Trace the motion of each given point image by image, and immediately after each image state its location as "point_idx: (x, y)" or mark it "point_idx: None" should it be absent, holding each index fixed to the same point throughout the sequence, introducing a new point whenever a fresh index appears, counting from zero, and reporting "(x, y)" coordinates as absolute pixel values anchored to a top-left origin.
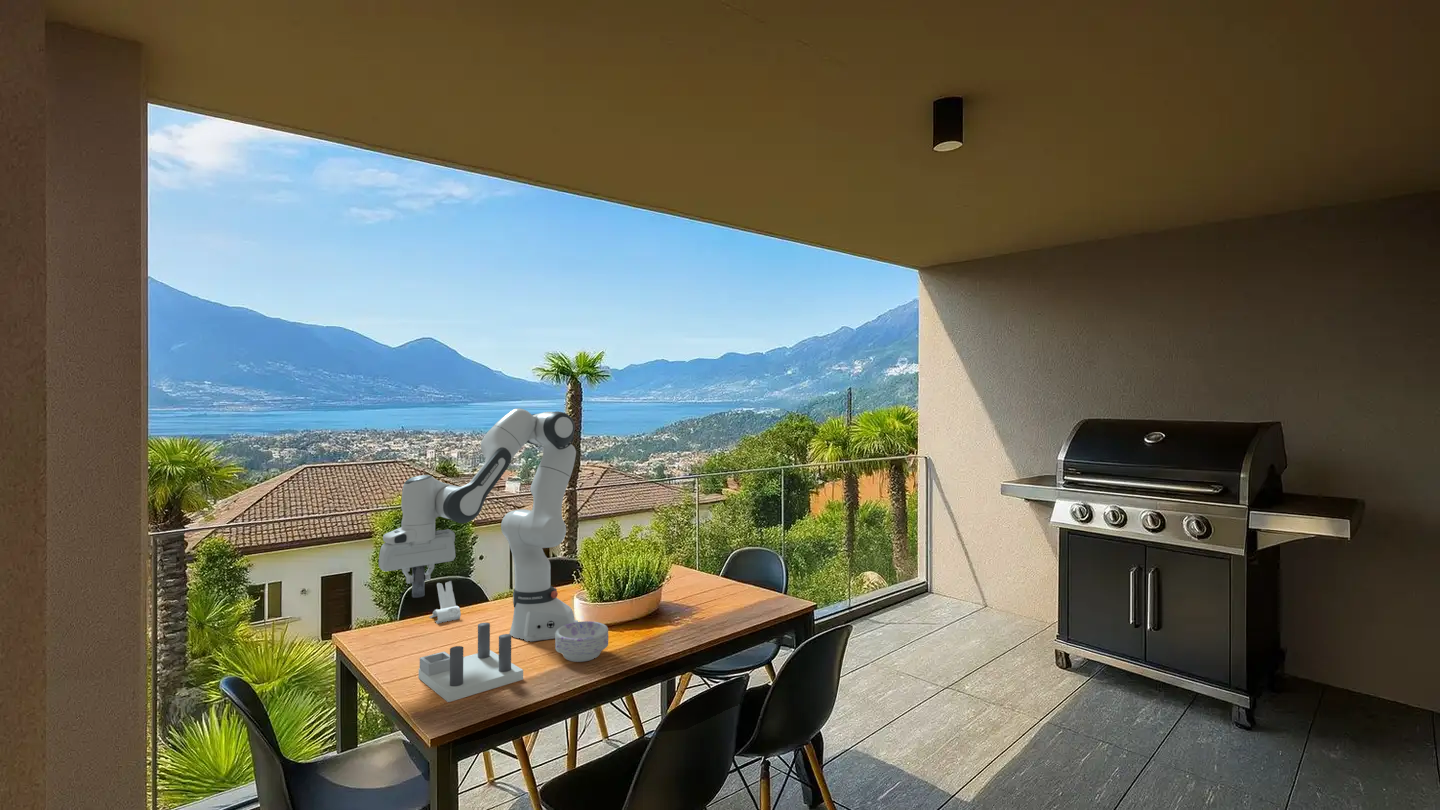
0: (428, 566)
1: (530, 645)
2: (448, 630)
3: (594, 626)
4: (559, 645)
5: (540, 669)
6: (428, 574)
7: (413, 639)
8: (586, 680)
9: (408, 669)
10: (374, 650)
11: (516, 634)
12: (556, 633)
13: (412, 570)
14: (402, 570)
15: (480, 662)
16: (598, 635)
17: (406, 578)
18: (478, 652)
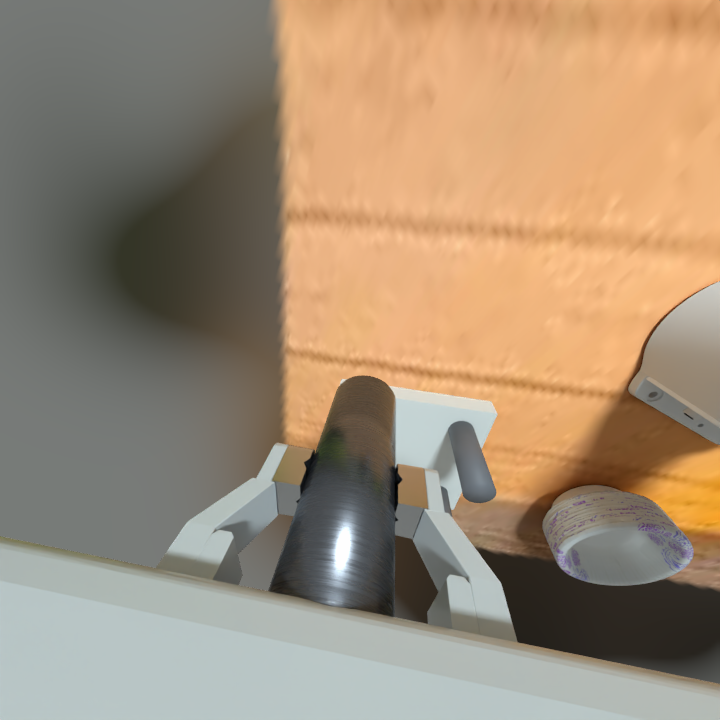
0: (435, 611)
1: (605, 407)
2: (655, 48)
3: (672, 551)
4: (552, 529)
5: (497, 490)
6: (415, 538)
7: (493, 52)
8: (497, 545)
9: (347, 323)
10: (340, 70)
11: (655, 351)
12: (578, 537)
13: (281, 555)
14: (184, 539)
15: (434, 446)
16: (600, 583)
17: (263, 470)
18: (450, 437)
